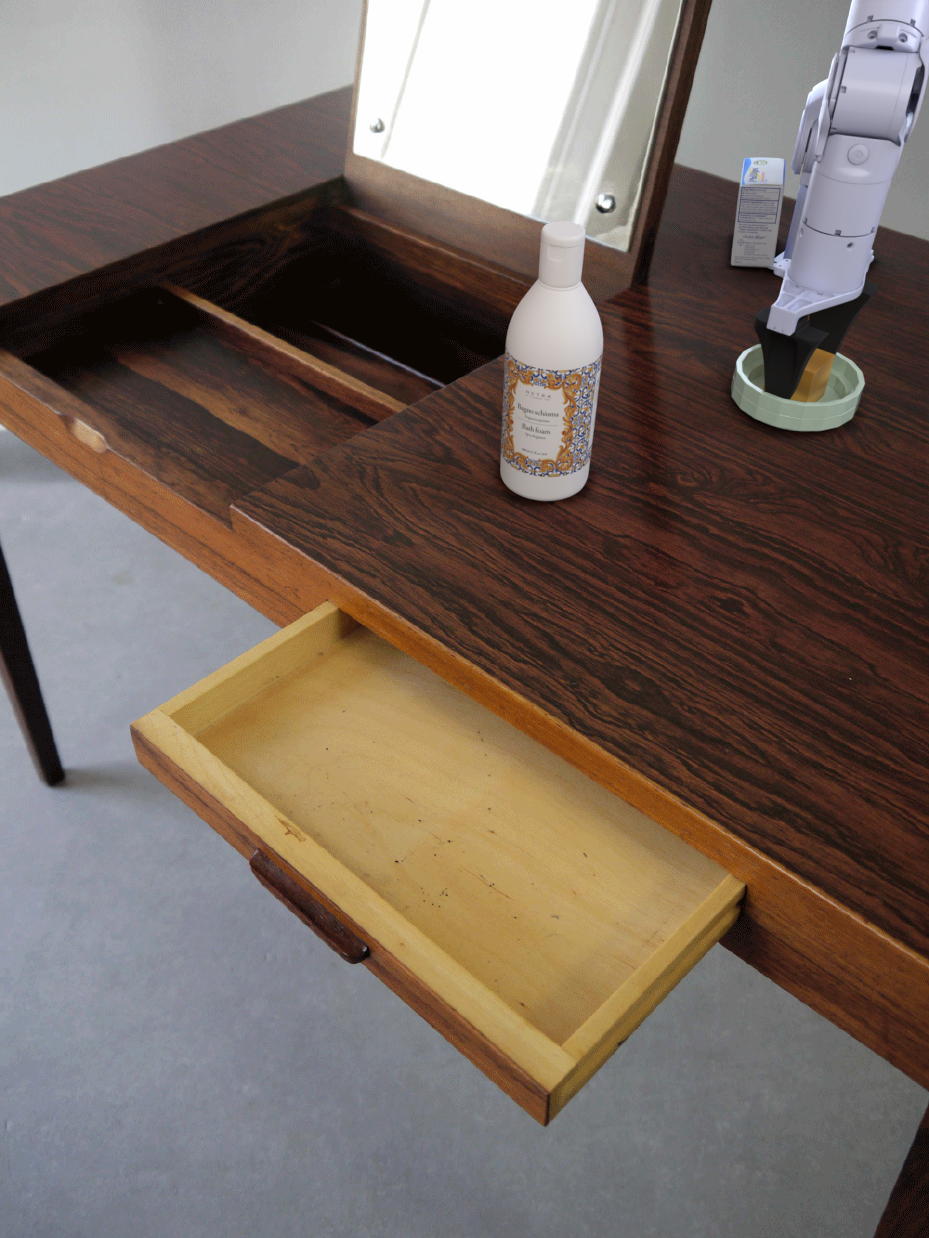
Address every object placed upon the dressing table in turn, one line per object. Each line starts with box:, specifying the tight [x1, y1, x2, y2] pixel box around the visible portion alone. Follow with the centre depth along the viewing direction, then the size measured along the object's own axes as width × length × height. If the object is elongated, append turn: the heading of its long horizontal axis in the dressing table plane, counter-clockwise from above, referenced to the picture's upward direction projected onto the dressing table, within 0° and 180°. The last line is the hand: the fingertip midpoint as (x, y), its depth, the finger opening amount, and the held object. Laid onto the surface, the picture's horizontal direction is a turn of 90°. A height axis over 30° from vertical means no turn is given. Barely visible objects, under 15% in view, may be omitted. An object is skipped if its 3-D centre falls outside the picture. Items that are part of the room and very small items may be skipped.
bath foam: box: [499, 220, 604, 502], centre depth 76 cm, size 7×7×20 cm
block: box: [763, 349, 835, 402], centre depth 90 cm, size 4×4×4 cm
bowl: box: [730, 343, 866, 432], centre depth 91 cm, size 11×11×3 cm
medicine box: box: [730, 156, 786, 269], centre depth 110 cm, size 8×4×9 cm, turn 167°
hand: (798, 378), depth 90 cm, fingers open, 7 cm apart
